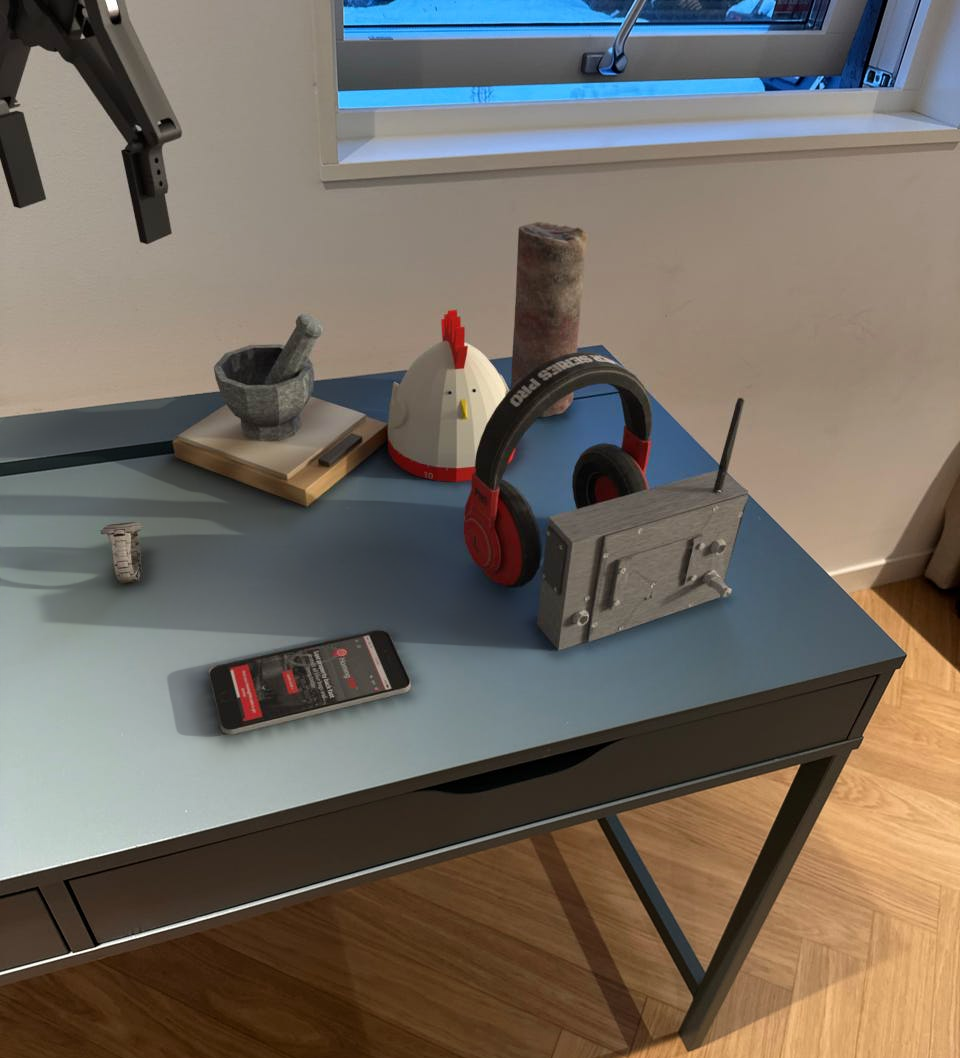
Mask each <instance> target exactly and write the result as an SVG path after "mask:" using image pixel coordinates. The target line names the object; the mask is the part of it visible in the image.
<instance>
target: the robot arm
mask: <svg viewBox="0 0 960 1058" xmlns="http://www.w3.org/2000/svg"><path fill="white" fill-rule="evenodd" d="M82 36H83V38H82ZM35 47H40V48H41V49H43V50H45V51H48V52H53V53H57V52H58V54H59V55H60V57H61V58H62V59H63V61H65V62H66V63H69V64H70V65H73V67H74V68H75V69H76V71H77V73H78V74H79V75H80V76H81V78H82V80H83V81H84V82H85V83H86V85H87V87H88V88H89V89H90V91H91V93H92V94H93V96H94V97H95V98H96V99H97V101H98V102H99V104H100V106H101V107H102V108H103V110H104V111H105V113H106V114H107V116H108V117H109V119H110V120H111V121H112V123H113V124H114V126H115V128H116V129H117V131H118V132H119V133H120V134H121V136H122V137H123V139H124V140H125V142H126V143H127V144H126V146H125V147H124V149H121V150H120V152H121V156H122V161H123V167H124V170H125V171H124V172H125V177H126V181H127V185H128V190H129V195H130V200H131V201H130V202H131V205H132V210H133V215H134V219H135V225H136V229H137V235H138V239H139V243H140V244H145V245H149V244H152V243H154V242H156V241H158V240H161V239H163V238H165V237H168V236H170V235H172V234H173V232H172V227H171V222H170V216H169V209H168V205H167V199H166V194H168V191H169V182H168V178H167V173H166V165H165V161H164V155H163V147H164V145H165V144H167V143H170V142H174V141H176V140H179V139H180V138H181V137H182V135H183V130H182V127H181V124H180V123H179V120H178V118H177V116H176V114H175V112H174V109H173V108H172V105H171V103H170V102H169V99H168V97H167V95H166V93H165V91H164V88H163V86H162V84H161V83H160V80H159V78H158V76H157V74H156V72H155V70H154V67H153V65H152V64H151V62H150V60H149V57H148V55H147V53H146V51H145V49H144V46H143V45H142V43H141V40H140V38H139V37H138V34H137V32H136V30H135V28H134V26H133V23H132V21H131V19H130V16H129V12H128V7H127V4H126V0H0V164H1V167H2V171H3V174H4V178H5V181H6V184H7V188H8V191H9V195H10V198H11V201H12V205H13V207H14V208H17V209H23V208H26V207H28V206H32V205H35V204H37V203H40V202H42V201H46V200H47V197H46V193H45V189H44V186H43V185H44V184H43V181H42V177H41V174H40V171H39V167H38V163H37V159H36V154H35V151H34V147H33V143H32V140H31V136H30V132H29V129H28V125H27V122H26V117H25V113H24V112H23V111H19V110H14V111H11V109H15V108H19V107H20V106H21V103H18V102H19V101H18V100H17V99H16V98H17V95H18V92H19V89H20V85H21V82H22V78H23V75H24V72H25V68H26V66H27V62H28V59H29V56H30V53H31V49H32V48H35ZM158 122H160V123H158ZM137 126H138V127H139V128H140V130H139V129H138V128H137Z"/></svg>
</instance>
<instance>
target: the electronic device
mask: <svg viewBox="0 0 960 1058" xmlns="http://www.w3.org/2000/svg"><path fill="white" fill-rule="evenodd" d="M744 404H745V399H744V398H743V397H738V398H737V401H736V403H735V406H734V410H733V414H732V417H731V421H730V424H729V428H728V432H727V434H726V435H727V436H726V439H725V442H724V443H725V444H724V446H723V451H722V454H721V457H720V461H719V465H718V469H715V470H712V471H708V472H705V473H701V474H698V475H695V476H691V477H687V478H683V479H680V480H676V481H673V482H669V483H666V484H662V485H659V486H655V487H650V488H649V489H647V490H644V491H640V492H637V493H633V494H629V495H626V496H622V497H619V498H615V499H611V500H608V501H604V502H601V503H597V504H593V505H590V506H586V507H583V508H579V509H577V508H576V509H572V510H569V511H565V512H562V513H558V514H554V515H550V516H548V520H547V528H546V535H545V544H544V545H545V547H544V554H543V563H542V572H541V573H542V574H541V584H540V594H539V603H538V612H537V621H536V624H537V626H538V627H539V629H540V630H541V631H542V633H543V634H544V635H545V636H546V637H547V639H548V640H549V641H550V643H552V645H553V646H554V647H555V648H556V649H557V651H561V650H564V649H568V648H571V647H573V646H577V645H578V644H582V643H584V642H588V643H590V642H592V641H595V640H598V639H602V638H604V637H607V636H610V635H613V634H616V633H619V632H622V631H625V630H628V629H630V628H634V627H636V626H639V625H642V624H643V625H644V624H645V623H649V622H652V621H655V620H657V619H661V618H663V617H667V616H669V615H672V614H675V613H678V612H681V611H683V610H686V609H690V608H692V607H695V606H698V605H699V606H700V605H702V604H705V603H707V602H710V601H713V600H717V599H720V598H727V597H729V596H730V595H731V593H732V591H733V590H732V588H730V587H729V586H728V585H727V584H726V583H725V580H726V576H727V573H728V570H729V567H730V562H731V559H732V555H733V552H734V548H735V545H736V542H737V539H738V534H739V530H740V528H741V524H742V520H743V517H744V513H745V508H746V506H747V503H748V499H749V495H748V493H749V490H748V489H746V488H745V487H744V486H742V485H741V484H740V483H739V482H738V481H736V480H735V479H734V478H733V477H732V476H730V475H729V474H728V470H729V467H730V462H731V458H732V454H733V450H734V445H735V443H736V437H737V433H738V429H739V425H740V421H741V416H742V412H743V408H744Z"/></svg>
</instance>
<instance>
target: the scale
mask: <svg viewBox="0 0 960 1058" xmlns="http://www.w3.org/2000/svg"><path fill="white" fill-rule="evenodd" d="M299 417H300V419H301V427H300V428H299V430H298V431H297V433H296V434H295V435H293V436H290V437H288V438H285V439H283V440H280V441H259V440H256V439H253V438H250V437H248V436H246V435H245V433H244V431H243V429H242V427H241V419H240V418H238V417H236V416H235V415H234V414H233V412H232V411H231V410H230V409H229V407H228V406H227V405H226V404H225V405H223V406H221V407H220V408H218V409H217V410H215V411H214V412H212V413H210V414H209V415H208V416H206V417H205V418H203V419H200V420H199V421H198V422H197V423H195V424H193V425H192V426H189V428H187V429H186V430H184V431H182V432H181V433H180V434H178V435H177V437H176V438H175V439H174V440H172V446H173V451H174V456H175V458H176V459H178V460H181V461H183V462H187V463H189V464H192V465H194V466H197V467H200V468H202V469H205V470H207V471H211V472H213V473H216V474H219V475H222V476H224V477H226V478H228V479H229V478H230V479H231V480H234V481H237V482H240V483H241V484H245V485H247V486H250V487H253V488H256V489H259V490H260V491H264V492H267V493H270V494H272V495H274V496H277V497H280V498H283V499H285V500H288V501H290V502H293V503H295V504H298V505H301V506H304V507H309V506H310V505H311V504H313V502H315V501H316V500H317V499H319V498H320V497H321V496H322V495H323V494H324V493H326V492H327V491H328V490H329V489H331V487H333V486H334V485H335V484H337V483H338V482H339V481H340V480H341V479H342V478H344V477H346V475H347V474H349V473H350V472H351V471H352V470H353V469H355V468H356V467H357V466H359V464H361V463H362V462H363V461H364V460H366V459H367V458H368V457H369V456H371V455H372V454H373V453H374V452H376V451H377V450H378V449H379V448H380V447H382V446H383V445H384V444H385V443H386V442H388V422H384V421H381V420H378V419H374V418H372V417H369V416H367V414H366V413H362V412H360V411H357V410H354V409H351V408H349V407H344V406H341V405H338V404H336V403H332V402H330V401H326V400H324V399H320V398H318V397H315V396H312V395H311V396H310V398H309V400H308V402H307V404H306V405H305V407H304V408H303V410H302V411H301V413H300V414H299Z"/></svg>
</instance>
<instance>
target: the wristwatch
mask: <svg viewBox="0 0 960 1058" xmlns="http://www.w3.org/2000/svg"><path fill="white" fill-rule="evenodd" d="M142 530H143V525H142V524H141V523H140V522H137V521H135V522H134V521H133V522H121V523H113V524H107V525H105V526H103V528H102V529H100V534H101V535H107V537H108V540H109V543H110V548H111V553H112V558H113V559H112V560H113V561H112V563H113V569H114V573H115V576H116V579H117V581H118V582H119V583H120V584H127V583H136V582H139V581H140V577H141V575H142V572H143V571H142V567H143V566H142V551H141V546H140V538H139V532H140V531H142Z"/></svg>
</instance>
